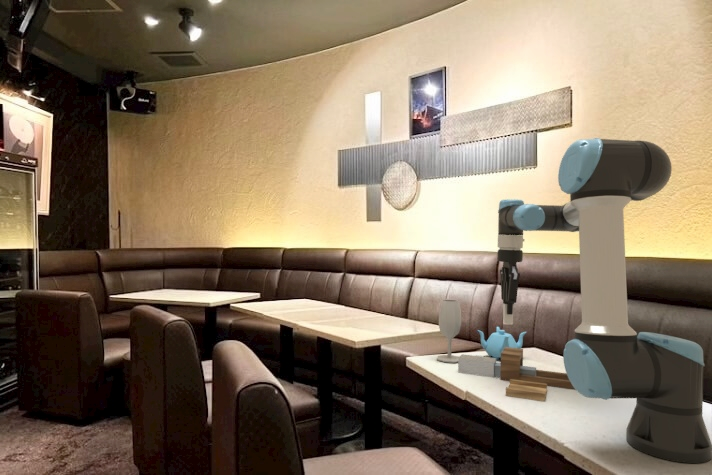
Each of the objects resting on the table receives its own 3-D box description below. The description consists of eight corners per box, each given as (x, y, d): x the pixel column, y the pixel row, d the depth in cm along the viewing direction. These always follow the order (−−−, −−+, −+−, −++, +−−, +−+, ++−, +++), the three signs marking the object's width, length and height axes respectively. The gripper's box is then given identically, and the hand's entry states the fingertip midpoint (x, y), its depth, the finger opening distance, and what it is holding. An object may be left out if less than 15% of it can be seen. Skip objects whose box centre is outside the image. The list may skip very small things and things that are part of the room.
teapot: (497, 352, 186) (497, 325, 186) (528, 359, 175) (529, 331, 175) (475, 357, 178) (476, 329, 178) (507, 364, 167) (507, 335, 167)
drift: (536, 379, 151) (536, 367, 151) (535, 383, 148) (535, 370, 148) (496, 374, 156) (496, 362, 156) (494, 377, 153) (494, 365, 153)
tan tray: (544, 401, 130) (545, 393, 130) (505, 395, 134) (505, 388, 134) (546, 390, 139) (547, 383, 139) (510, 385, 143) (510, 378, 143)
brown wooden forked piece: (589, 391, 139) (590, 363, 139) (500, 379, 149) (500, 353, 149) (588, 382, 149) (589, 355, 148) (504, 371, 159) (505, 346, 159)
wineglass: (465, 359, 173) (466, 300, 173) (456, 364, 166) (457, 302, 166) (442, 356, 178) (443, 298, 178) (432, 360, 171) (433, 300, 171)
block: (496, 373, 157) (496, 358, 157) (493, 377, 152) (493, 361, 152) (461, 369, 161) (461, 354, 161) (458, 373, 157) (458, 357, 157)
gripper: (529, 250, 147) (526, 328, 148) (515, 248, 160) (513, 320, 161) (504, 249, 147) (501, 328, 148) (492, 247, 160) (490, 319, 161)
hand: (507, 324), depth 154 cm, fingers closed
